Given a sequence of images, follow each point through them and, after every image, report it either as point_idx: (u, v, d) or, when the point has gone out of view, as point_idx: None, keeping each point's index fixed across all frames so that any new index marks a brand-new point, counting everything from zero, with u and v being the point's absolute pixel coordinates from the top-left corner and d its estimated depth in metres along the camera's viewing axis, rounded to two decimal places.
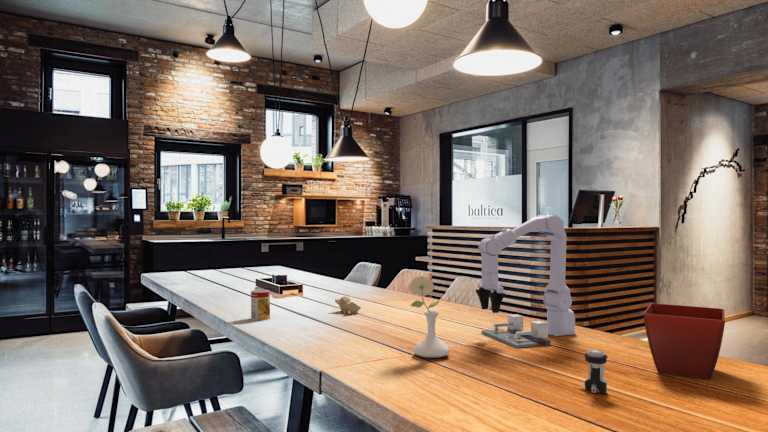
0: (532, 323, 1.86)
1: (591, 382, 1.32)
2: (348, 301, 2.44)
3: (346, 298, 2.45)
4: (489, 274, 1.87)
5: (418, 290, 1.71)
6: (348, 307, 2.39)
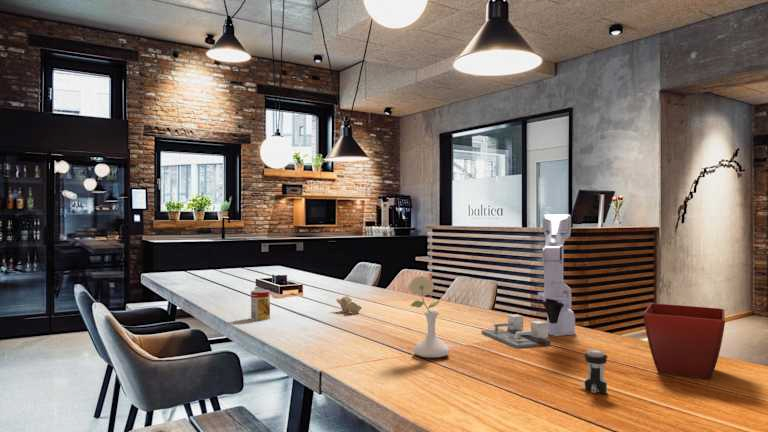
0: (532, 323, 1.86)
1: (591, 382, 1.32)
2: (349, 301, 2.45)
3: (347, 298, 2.46)
4: (553, 283, 1.75)
5: (418, 290, 1.71)
6: (348, 307, 2.40)
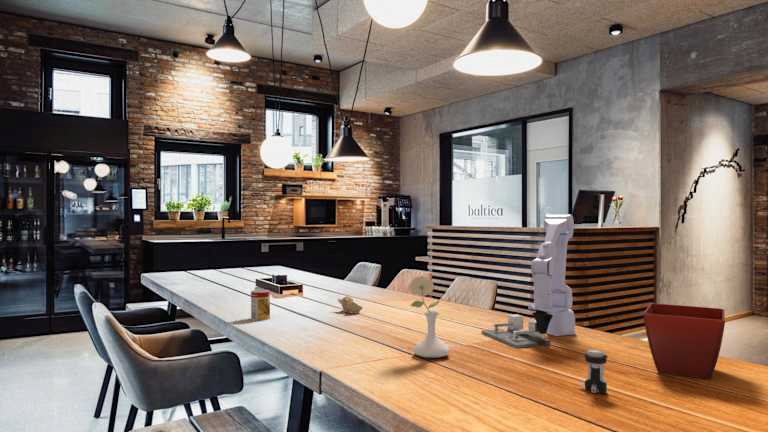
0: (530, 322, 1.87)
1: (591, 382, 1.32)
2: (350, 301, 2.45)
3: (348, 298, 2.46)
4: (542, 295, 1.81)
5: (418, 290, 1.71)
6: (349, 307, 2.40)
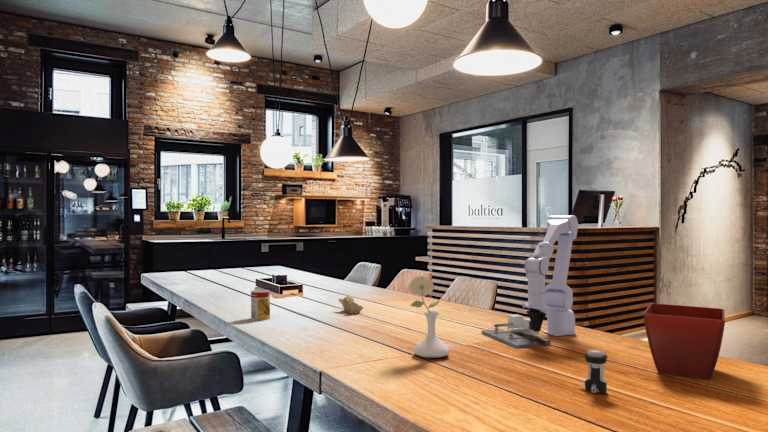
0: (524, 320, 1.91)
1: (591, 382, 1.32)
2: (351, 301, 2.45)
3: (349, 298, 2.46)
4: (536, 294, 1.84)
5: (418, 290, 1.71)
6: (349, 307, 2.40)
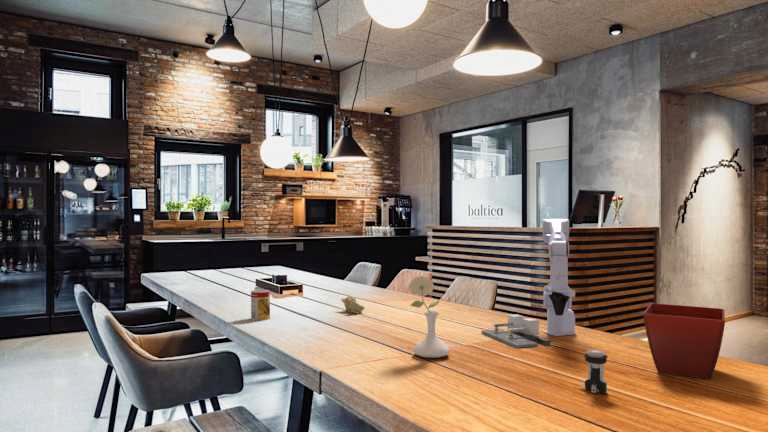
0: (524, 320, 1.91)
1: (591, 382, 1.32)
2: (352, 301, 2.45)
3: (351, 298, 2.46)
4: (559, 277, 1.82)
5: (418, 290, 1.71)
6: (350, 307, 2.40)
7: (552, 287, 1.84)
